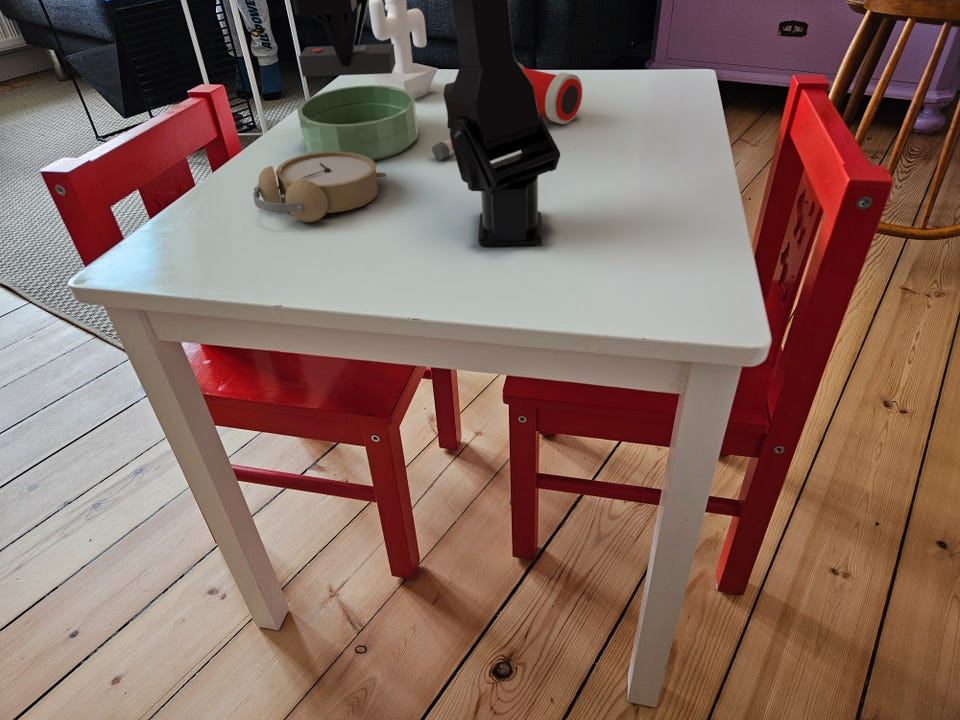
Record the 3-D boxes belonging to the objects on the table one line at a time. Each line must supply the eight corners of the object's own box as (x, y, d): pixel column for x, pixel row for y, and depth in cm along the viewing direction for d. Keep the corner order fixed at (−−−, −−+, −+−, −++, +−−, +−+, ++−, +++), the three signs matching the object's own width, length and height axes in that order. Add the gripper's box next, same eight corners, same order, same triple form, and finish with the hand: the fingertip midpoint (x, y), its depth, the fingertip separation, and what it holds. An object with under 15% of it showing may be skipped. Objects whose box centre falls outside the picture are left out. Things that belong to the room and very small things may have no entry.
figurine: (444, 90, 109) (436, -17, 100) (401, 108, 104) (388, -3, 94) (411, 82, 113) (400, -21, 104) (368, 100, 108) (352, -8, 98)
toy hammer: (471, 172, 85) (468, 120, 81) (405, 149, 92) (400, 100, 88) (583, 116, 98) (585, 69, 94) (518, 100, 104) (518, 55, 100)
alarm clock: (398, 165, 81) (289, 191, 70) (398, 207, 83) (293, 237, 73) (335, 144, 87) (226, 165, 76) (336, 183, 89) (231, 208, 79)
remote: (395, 63, 88) (393, 42, 87) (391, 73, 85) (389, 51, 84) (309, 66, 89) (305, 45, 87) (302, 76, 86) (298, 55, 84)
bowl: (412, 162, 88) (407, 123, 85) (293, 166, 89) (284, 128, 86) (423, 119, 100) (420, 83, 97) (318, 122, 101) (311, 87, 98)
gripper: (275, -97, 84) (302, 41, 94) (227, -73, 70) (264, 87, 80) (367, -102, 84) (384, 38, 93) (337, -78, 69) (361, 84, 79)
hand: (349, 60), depth 86 cm, fingers closed on remote, 4 cm apart
